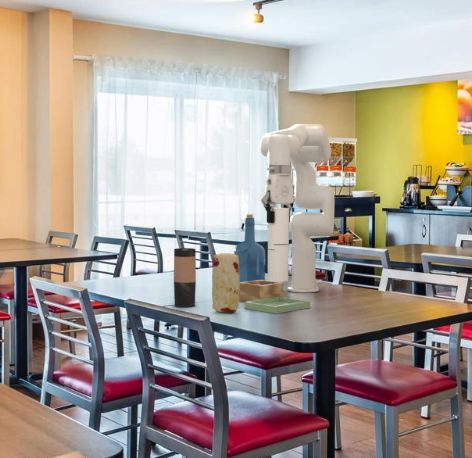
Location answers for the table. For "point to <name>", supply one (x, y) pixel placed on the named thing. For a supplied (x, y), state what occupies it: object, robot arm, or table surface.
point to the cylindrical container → (278, 246)
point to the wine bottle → (250, 254)
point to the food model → (225, 282)
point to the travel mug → (184, 277)
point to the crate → (259, 290)
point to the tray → (277, 305)
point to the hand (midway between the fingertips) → (278, 222)
